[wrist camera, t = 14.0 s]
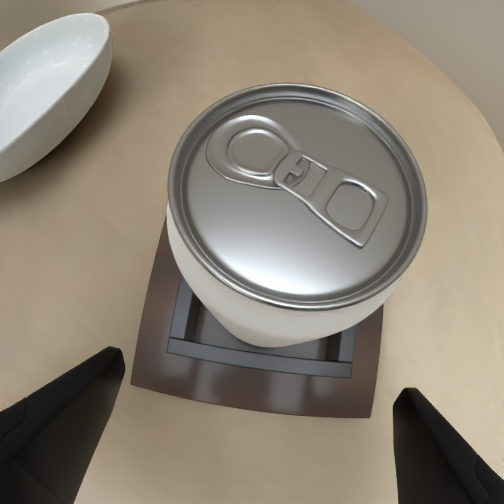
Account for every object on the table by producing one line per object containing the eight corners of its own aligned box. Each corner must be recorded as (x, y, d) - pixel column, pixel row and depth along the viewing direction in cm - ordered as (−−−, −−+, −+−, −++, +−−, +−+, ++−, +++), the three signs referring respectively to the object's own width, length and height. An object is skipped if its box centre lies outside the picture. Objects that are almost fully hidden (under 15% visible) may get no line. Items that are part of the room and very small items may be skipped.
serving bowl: (-42, 239, 19) (-87, 211, 13) (-6, 100, 26) (-29, 68, 19) (132, 165, 21) (99, 103, 15) (129, 37, 28) (116, -7, 21)
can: (254, 217, 19) (262, 46, 7) (344, 276, 18) (466, 160, 6) (189, 303, 17) (87, 208, 6) (284, 370, 16) (362, 404, 5)
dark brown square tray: (364, 415, 16) (388, 426, 13) (135, 383, 16) (112, 388, 13) (378, 207, 20) (398, 181, 17) (182, 177, 21) (171, 147, 18)
